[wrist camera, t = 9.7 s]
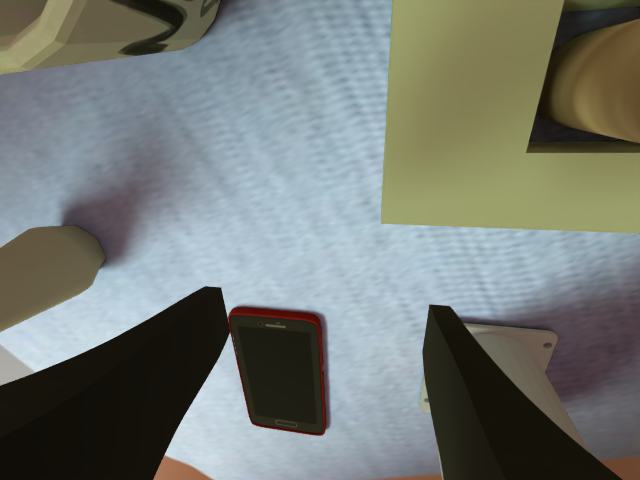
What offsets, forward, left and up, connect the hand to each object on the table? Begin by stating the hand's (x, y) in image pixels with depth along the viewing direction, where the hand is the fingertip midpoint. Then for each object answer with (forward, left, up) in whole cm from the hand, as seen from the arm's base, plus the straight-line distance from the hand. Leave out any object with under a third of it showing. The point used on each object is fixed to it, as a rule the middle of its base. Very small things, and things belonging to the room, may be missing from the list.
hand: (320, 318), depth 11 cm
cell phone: (-16, +6, -11) cm, 20 cm away
